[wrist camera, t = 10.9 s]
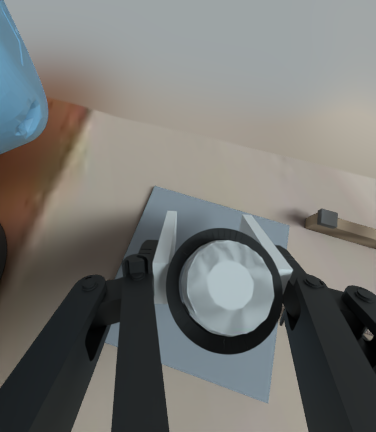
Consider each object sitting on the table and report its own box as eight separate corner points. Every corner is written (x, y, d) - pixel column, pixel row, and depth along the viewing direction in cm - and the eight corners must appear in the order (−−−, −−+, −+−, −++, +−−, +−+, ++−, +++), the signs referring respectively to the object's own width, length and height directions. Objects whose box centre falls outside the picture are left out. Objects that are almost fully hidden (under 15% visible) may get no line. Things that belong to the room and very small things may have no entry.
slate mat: (92, 335, 17) (89, 336, 16) (155, 187, 22) (154, 185, 22) (265, 399, 15) (268, 403, 15) (287, 226, 21) (289, 225, 20)
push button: (185, 235, 18) (191, 184, 9) (237, 249, 18) (300, 212, 9) (165, 307, 16) (144, 340, 7) (224, 324, 16) (292, 385, 6)
